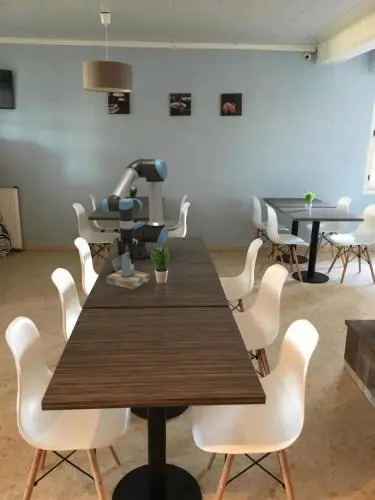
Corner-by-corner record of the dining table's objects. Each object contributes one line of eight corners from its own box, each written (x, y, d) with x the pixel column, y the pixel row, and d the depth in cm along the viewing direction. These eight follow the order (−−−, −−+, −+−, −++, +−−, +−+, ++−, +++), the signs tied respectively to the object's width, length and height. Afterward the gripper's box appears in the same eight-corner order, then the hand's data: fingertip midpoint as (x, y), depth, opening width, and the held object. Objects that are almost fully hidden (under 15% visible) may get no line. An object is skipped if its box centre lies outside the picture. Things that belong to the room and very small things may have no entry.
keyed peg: (122, 275, 232) (121, 253, 228) (128, 272, 237) (127, 251, 233) (127, 276, 230) (127, 254, 227) (134, 273, 235) (133, 252, 232)
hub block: (124, 275, 246) (124, 268, 245) (149, 280, 237) (149, 273, 236) (106, 283, 232) (106, 276, 231) (133, 289, 224) (132, 282, 223)
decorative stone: (127, 274, 246) (132, 259, 249) (109, 269, 243) (114, 253, 247) (124, 278, 258) (128, 263, 261) (107, 273, 255) (111, 258, 259)
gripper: (109, 227, 227) (111, 268, 233) (135, 230, 219) (136, 273, 225) (118, 224, 233) (120, 264, 240) (143, 228, 225) (144, 269, 232)
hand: (128, 268), depth 232 cm, fingers closed on keyed peg, 4 cm apart
